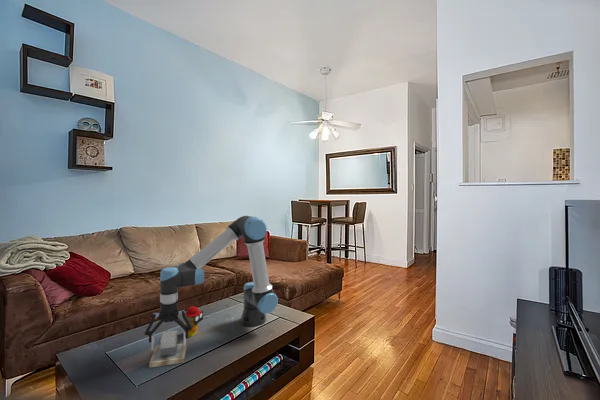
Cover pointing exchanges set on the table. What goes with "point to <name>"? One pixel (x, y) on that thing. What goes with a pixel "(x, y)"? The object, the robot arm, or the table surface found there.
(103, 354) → the table surface
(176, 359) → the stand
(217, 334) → the table surface
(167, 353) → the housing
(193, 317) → the toy
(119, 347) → the table surface
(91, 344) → the table surface
